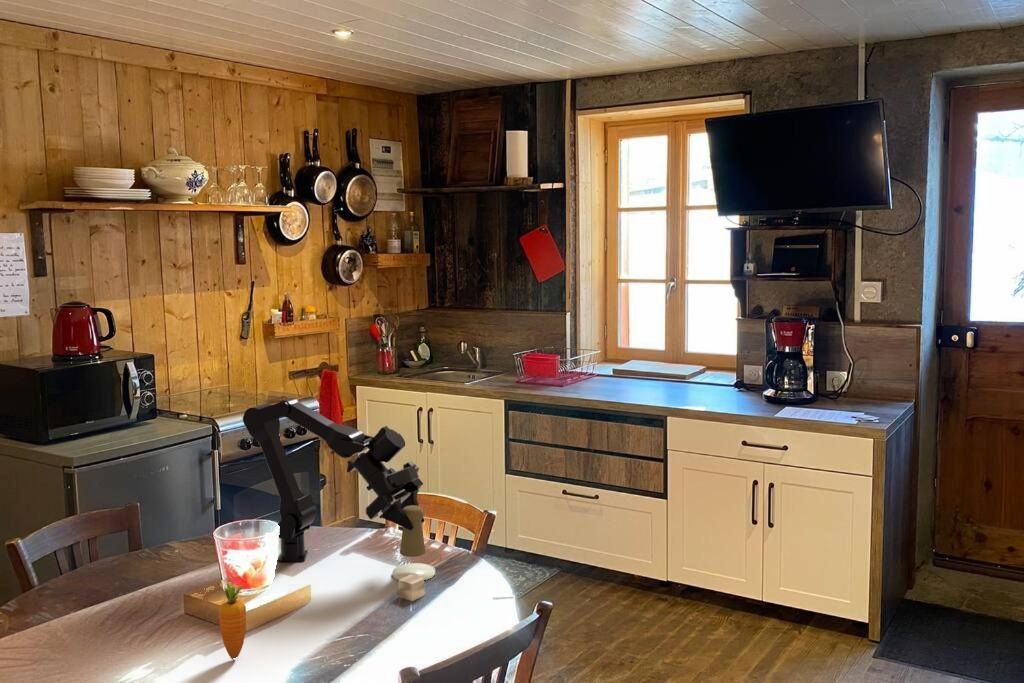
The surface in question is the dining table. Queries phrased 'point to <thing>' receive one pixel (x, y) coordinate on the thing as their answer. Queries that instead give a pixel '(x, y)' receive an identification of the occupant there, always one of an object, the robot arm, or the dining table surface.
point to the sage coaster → (414, 571)
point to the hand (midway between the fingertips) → (417, 525)
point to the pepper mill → (413, 533)
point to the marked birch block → (411, 587)
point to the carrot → (232, 621)
